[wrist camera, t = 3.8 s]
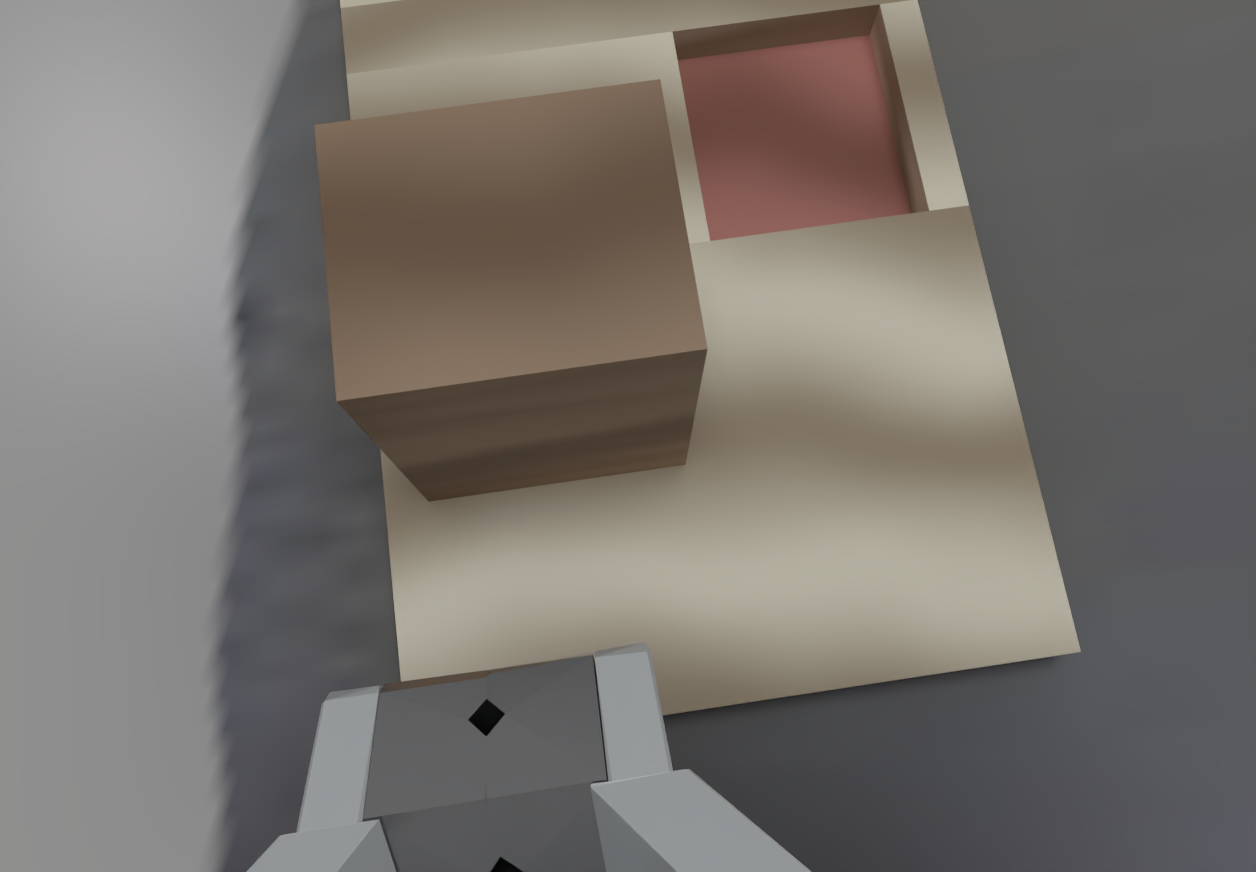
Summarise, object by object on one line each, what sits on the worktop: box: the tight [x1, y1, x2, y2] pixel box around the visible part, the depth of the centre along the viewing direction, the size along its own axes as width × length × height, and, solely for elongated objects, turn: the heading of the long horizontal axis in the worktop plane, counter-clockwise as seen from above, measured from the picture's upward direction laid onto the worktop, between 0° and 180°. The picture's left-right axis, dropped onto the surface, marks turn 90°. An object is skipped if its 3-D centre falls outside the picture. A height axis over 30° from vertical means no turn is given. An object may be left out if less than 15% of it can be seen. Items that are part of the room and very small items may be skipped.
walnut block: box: [315, 79, 708, 502], centre depth 22 cm, size 5×6×8 cm
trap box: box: [340, 0, 1081, 716], centre depth 28 cm, size 30×15×2 cm, turn 8°
